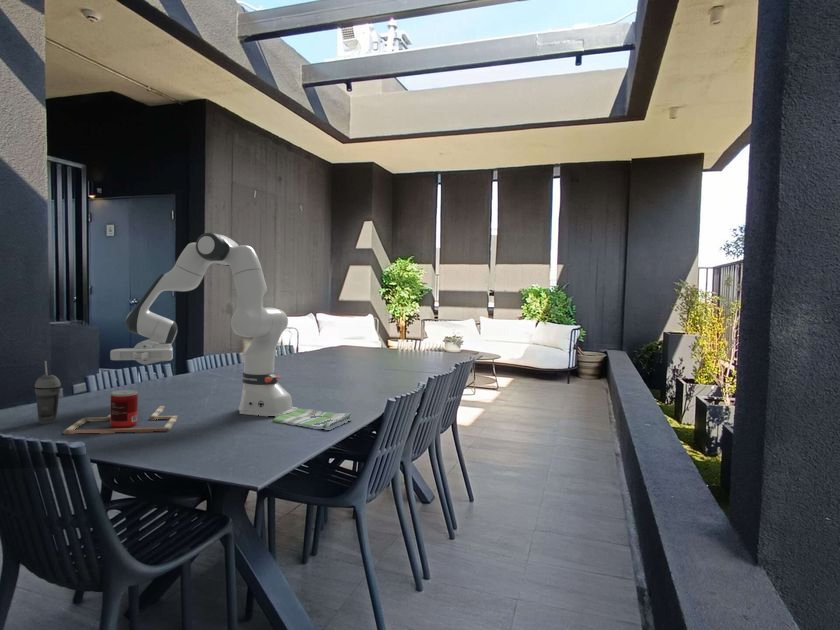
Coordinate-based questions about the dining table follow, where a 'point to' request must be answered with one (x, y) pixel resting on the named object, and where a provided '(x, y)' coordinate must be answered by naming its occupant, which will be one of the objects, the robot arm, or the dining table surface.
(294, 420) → the dish towel
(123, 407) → the canned food
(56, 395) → the beverage cup
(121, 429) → the t outline
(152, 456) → the dining table surface
